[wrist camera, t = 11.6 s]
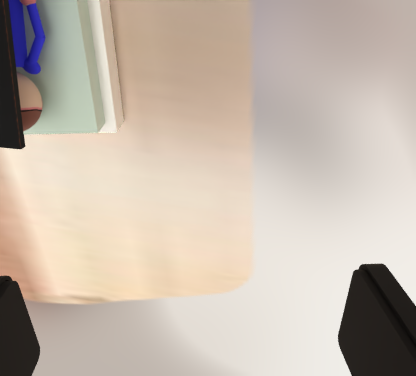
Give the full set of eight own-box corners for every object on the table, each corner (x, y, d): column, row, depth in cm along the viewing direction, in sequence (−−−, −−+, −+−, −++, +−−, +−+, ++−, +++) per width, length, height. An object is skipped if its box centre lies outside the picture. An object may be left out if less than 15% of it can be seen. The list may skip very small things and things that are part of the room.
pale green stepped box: (-62, -100, 29) (-131, -129, 23) (97, -100, 29) (71, -128, 23) (2, 123, 38) (-35, 146, 32) (124, 120, 38) (110, 143, 32)
